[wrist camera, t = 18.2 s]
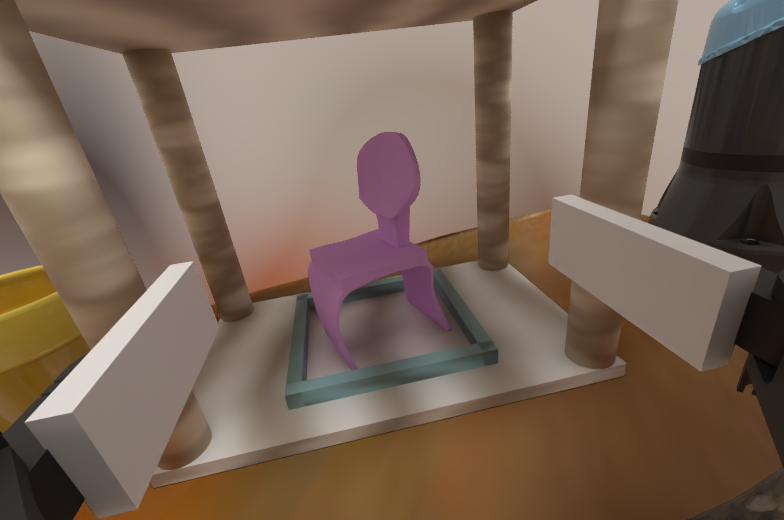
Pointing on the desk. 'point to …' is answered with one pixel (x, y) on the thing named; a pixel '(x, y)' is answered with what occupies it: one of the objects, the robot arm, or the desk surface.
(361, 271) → the toy chair
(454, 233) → the desk surface
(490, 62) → the canopy shelf
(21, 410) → the plant pot
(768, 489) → the fossil
